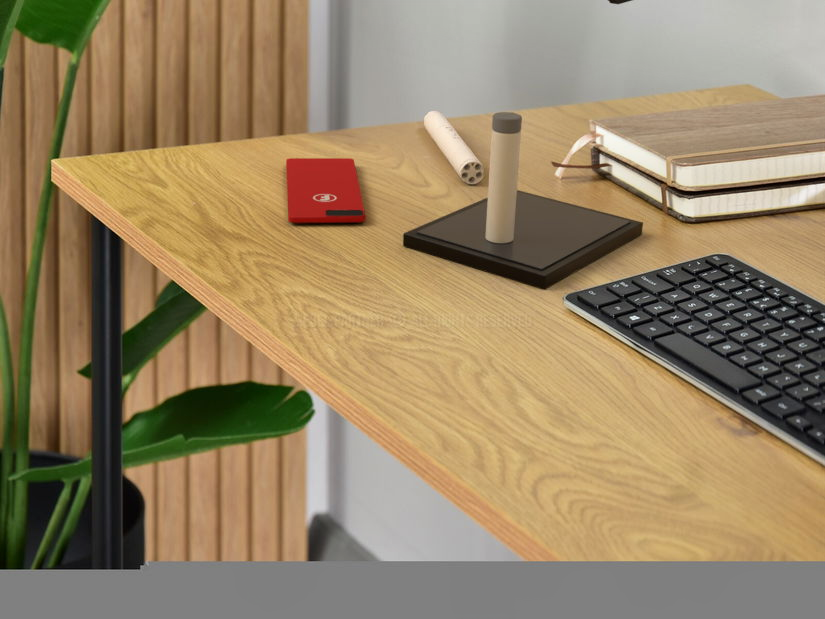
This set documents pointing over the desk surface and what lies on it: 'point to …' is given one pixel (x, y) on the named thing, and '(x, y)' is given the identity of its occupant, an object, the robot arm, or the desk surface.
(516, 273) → the tablet
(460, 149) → the cream cylinder
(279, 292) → the desk surface
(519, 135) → the stylus
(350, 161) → the electronic device
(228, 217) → the desk surface
